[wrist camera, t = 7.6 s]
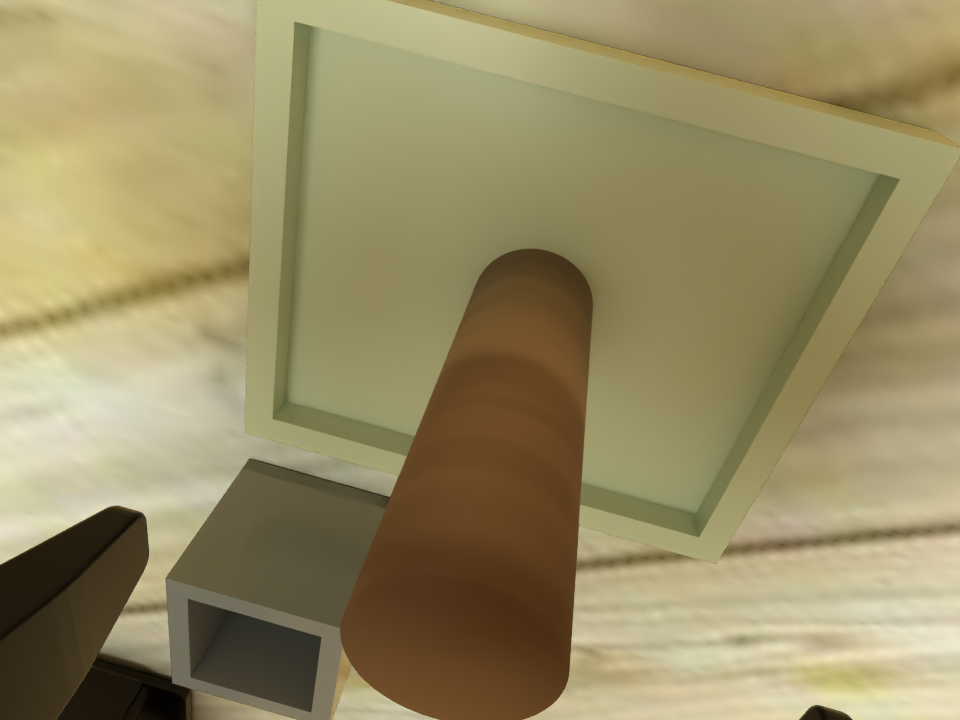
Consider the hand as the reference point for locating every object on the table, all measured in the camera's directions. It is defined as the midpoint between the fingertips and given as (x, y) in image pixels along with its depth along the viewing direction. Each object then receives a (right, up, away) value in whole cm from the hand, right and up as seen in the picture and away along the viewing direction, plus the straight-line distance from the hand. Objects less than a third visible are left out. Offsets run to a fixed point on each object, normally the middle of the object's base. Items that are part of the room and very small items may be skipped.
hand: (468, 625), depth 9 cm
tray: (+2, +5, +9) cm, 10 cm away
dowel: (+1, +5, +8) cm, 10 cm away
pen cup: (-6, -2, +15) cm, 16 cm away
